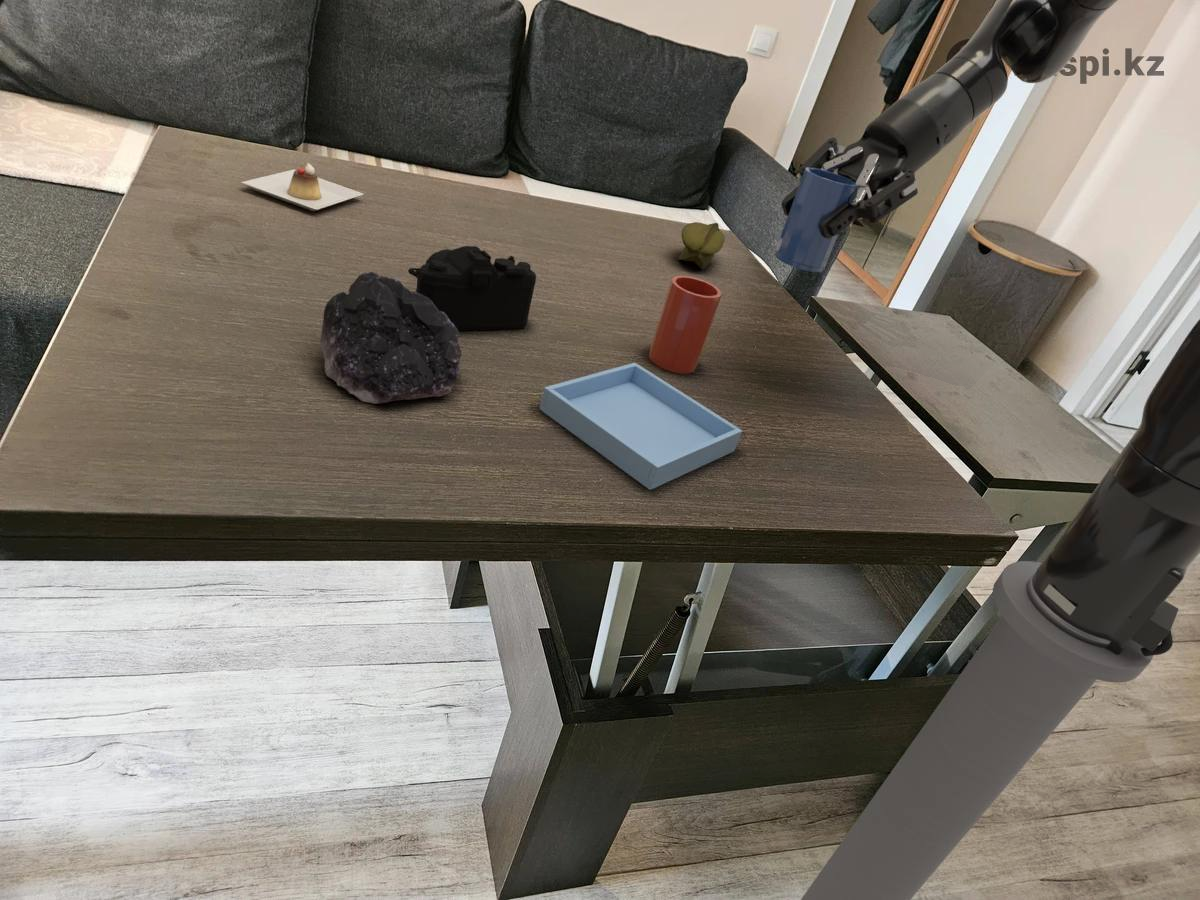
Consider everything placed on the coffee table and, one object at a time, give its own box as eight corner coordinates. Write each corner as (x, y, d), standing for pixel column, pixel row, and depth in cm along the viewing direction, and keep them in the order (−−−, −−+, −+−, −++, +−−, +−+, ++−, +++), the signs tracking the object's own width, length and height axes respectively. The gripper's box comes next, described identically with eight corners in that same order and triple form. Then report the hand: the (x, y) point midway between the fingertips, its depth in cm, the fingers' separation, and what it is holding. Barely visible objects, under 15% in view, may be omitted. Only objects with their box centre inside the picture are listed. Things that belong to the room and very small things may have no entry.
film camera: (501, 296, 102) (514, 228, 97) (535, 331, 95) (550, 260, 91) (385, 296, 93) (393, 222, 89) (414, 334, 87) (424, 257, 82)
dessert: (240, 190, 110) (240, 155, 108) (293, 176, 120) (295, 144, 118) (316, 217, 109) (318, 182, 106) (363, 201, 119) (366, 169, 116)
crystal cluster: (463, 422, 76) (488, 326, 72) (314, 401, 71) (332, 296, 66) (446, 364, 87) (467, 278, 82) (316, 342, 81) (331, 249, 77)
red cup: (704, 368, 98) (731, 294, 93) (675, 377, 94) (701, 300, 89) (668, 346, 101) (692, 273, 96) (639, 354, 97) (661, 278, 92)
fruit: (652, 246, 135) (663, 208, 132) (709, 251, 141) (721, 215, 138) (685, 273, 127) (697, 234, 124) (744, 278, 133) (758, 240, 129)
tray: (734, 451, 83) (742, 430, 81) (649, 490, 73) (657, 467, 71) (629, 382, 90) (635, 362, 89) (539, 409, 80) (544, 387, 79)
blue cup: (832, 269, 93) (867, 185, 88) (808, 274, 89) (842, 185, 84) (790, 250, 96) (821, 167, 91) (764, 253, 92) (795, 167, 87)
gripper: (867, 82, 92) (755, 174, 92) (964, 116, 82) (838, 219, 82) (879, 135, 97) (773, 222, 97) (971, 173, 87) (853, 270, 87)
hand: (803, 221), depth 89 cm, fingers closed on blue cup, 6 cm apart
